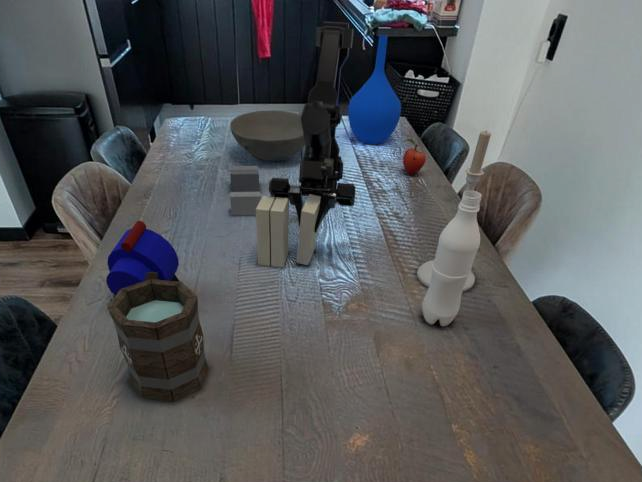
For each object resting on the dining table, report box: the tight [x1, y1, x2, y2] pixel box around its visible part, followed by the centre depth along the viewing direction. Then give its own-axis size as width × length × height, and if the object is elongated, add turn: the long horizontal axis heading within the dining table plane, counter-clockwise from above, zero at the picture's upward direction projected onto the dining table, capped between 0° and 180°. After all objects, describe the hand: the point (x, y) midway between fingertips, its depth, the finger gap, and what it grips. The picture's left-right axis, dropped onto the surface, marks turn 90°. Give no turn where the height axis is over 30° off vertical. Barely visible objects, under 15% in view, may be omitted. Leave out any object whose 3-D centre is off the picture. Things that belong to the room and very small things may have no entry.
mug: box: [107, 272, 210, 402], centre depth 80 cm, size 20×14×15 cm
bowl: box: [229, 110, 305, 162], centre depth 154 cm, size 26×26×10 cm
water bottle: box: [421, 190, 483, 327], centre depth 88 cm, size 7×7×25 cm
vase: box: [347, 34, 402, 145], centre depth 161 cm, size 18×18×30 cm
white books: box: [255, 195, 290, 268], centre depth 107 cm, size 7×6×13 cm
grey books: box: [229, 165, 262, 217], centre depth 133 cm, size 8×21×5 cm, turn 5°
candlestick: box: [416, 129, 492, 293], centre depth 97 cm, size 13×13×30 cm
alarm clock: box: [105, 220, 181, 298], centre depth 94 cm, size 12×12×15 cm
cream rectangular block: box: [296, 194, 321, 266], centre depth 106 cm, size 7×3×13 cm, turn 165°
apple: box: [402, 138, 427, 176], centre depth 147 cm, size 8×7×10 cm
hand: (308, 231), depth 105 cm, fingers closed on cream rectangular block, 3 cm apart
